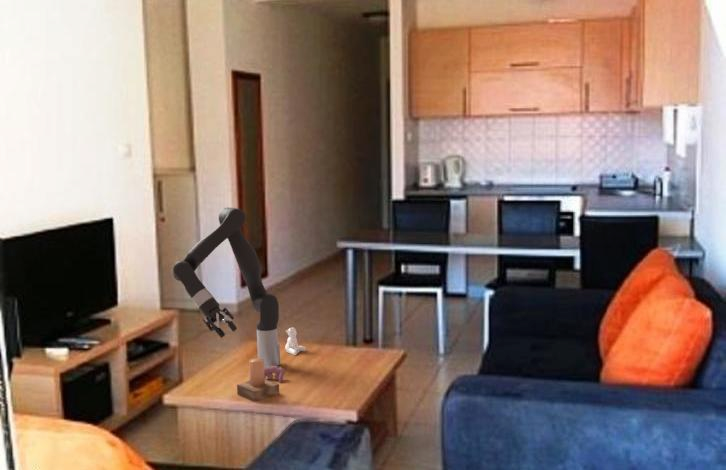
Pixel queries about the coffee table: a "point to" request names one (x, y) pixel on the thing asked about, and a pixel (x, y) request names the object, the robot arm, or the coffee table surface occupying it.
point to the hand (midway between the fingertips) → (229, 333)
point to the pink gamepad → (274, 369)
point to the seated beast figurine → (293, 342)
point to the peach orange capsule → (257, 372)
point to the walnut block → (258, 390)
